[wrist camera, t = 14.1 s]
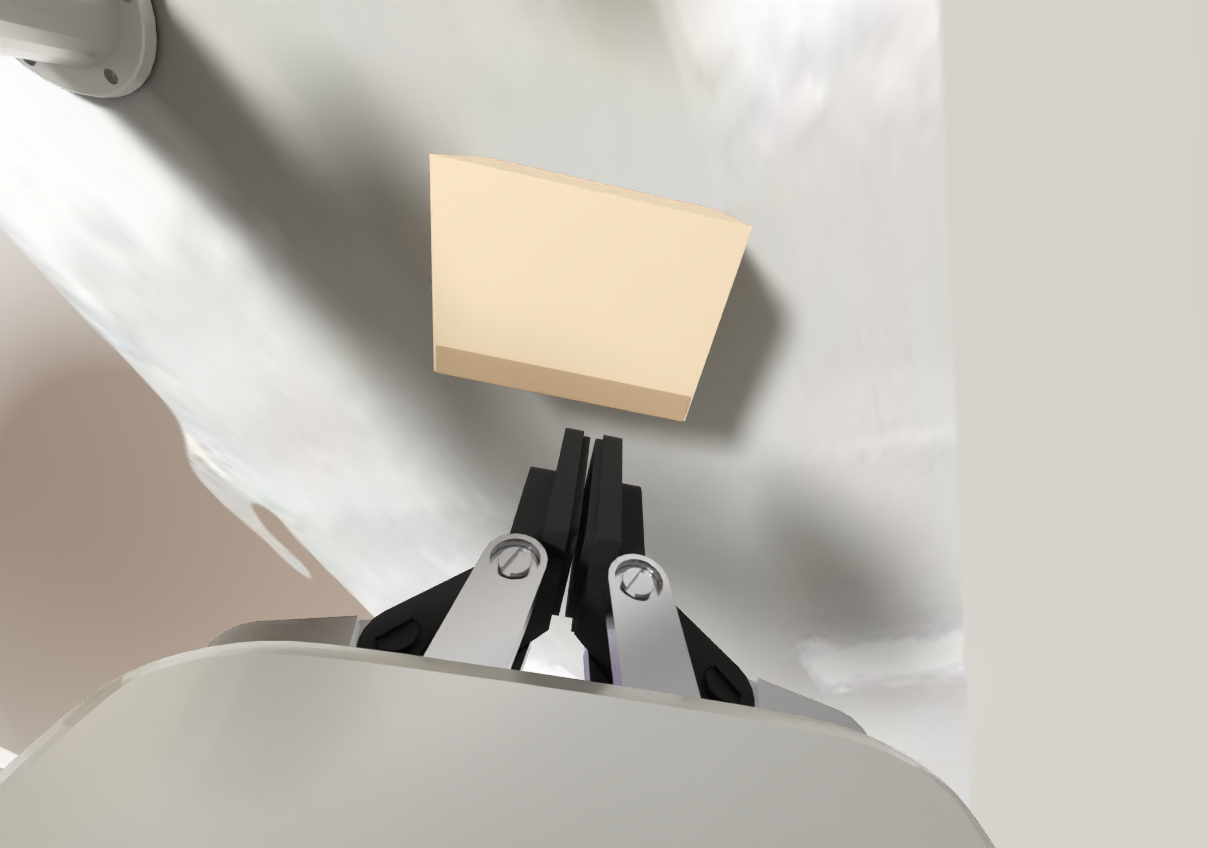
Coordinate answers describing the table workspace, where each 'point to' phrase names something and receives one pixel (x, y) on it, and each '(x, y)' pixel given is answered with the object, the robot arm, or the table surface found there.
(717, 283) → the lid
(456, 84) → the table surface
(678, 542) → the table surface
